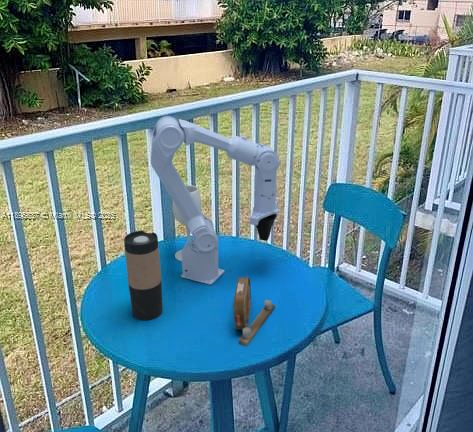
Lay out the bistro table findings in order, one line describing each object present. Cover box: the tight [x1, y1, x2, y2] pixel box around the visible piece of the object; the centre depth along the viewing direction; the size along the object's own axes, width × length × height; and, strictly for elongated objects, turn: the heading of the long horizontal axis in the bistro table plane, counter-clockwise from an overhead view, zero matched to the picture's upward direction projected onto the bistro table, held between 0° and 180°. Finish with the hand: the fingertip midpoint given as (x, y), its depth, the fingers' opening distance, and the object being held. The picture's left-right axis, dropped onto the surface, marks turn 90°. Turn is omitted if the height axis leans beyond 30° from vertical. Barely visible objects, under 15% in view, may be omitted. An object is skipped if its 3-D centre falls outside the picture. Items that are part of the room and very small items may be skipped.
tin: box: [233, 276, 252, 330], centre depth 111 cm, size 15×3×8 cm, turn 174°
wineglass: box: [172, 184, 203, 262], centre depth 137 cm, size 9×9×21 cm
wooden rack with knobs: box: [238, 299, 276, 347], centre depth 110 cm, size 2×16×3 cm, turn 154°
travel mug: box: [123, 230, 163, 321], centre depth 111 cm, size 8×8×20 cm
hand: (264, 239), depth 130 cm, fingers closed
